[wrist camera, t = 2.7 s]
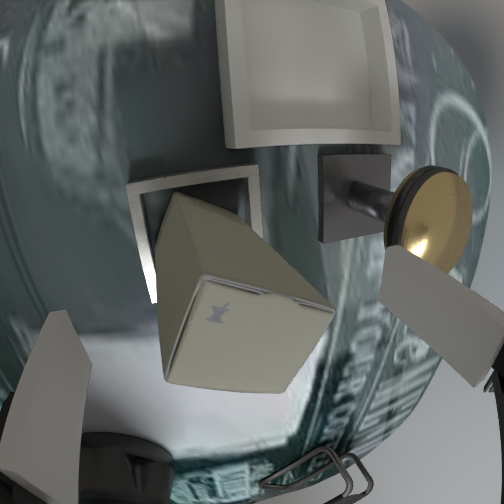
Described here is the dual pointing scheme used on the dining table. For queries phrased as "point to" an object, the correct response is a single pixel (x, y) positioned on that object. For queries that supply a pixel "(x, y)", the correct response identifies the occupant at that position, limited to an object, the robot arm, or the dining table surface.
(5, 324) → the dining table surface
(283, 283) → the box
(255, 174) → the pin seat
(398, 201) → the mounted dome knob
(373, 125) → the tray
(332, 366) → the dining table surface
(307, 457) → the chair
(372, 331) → the dining table surface
